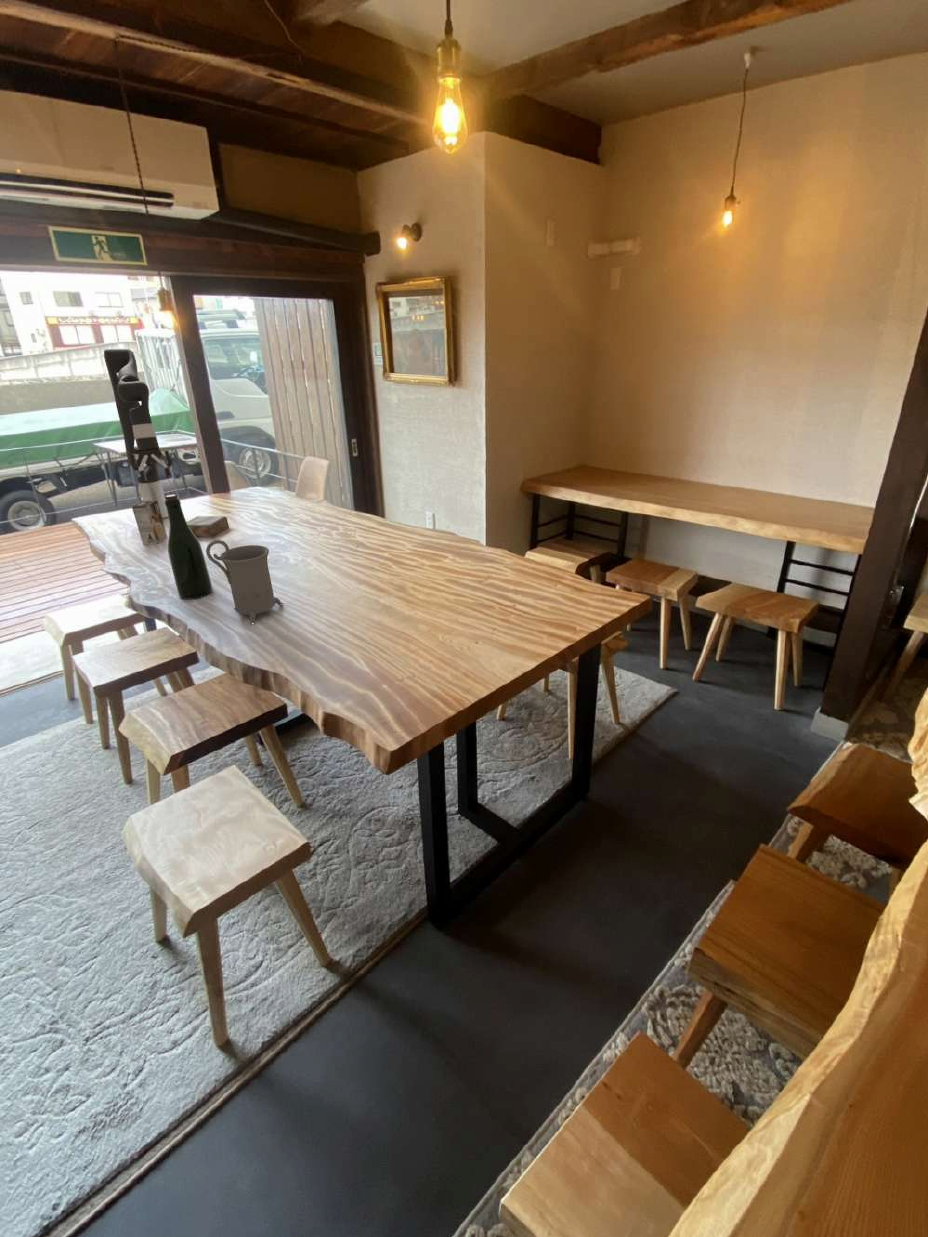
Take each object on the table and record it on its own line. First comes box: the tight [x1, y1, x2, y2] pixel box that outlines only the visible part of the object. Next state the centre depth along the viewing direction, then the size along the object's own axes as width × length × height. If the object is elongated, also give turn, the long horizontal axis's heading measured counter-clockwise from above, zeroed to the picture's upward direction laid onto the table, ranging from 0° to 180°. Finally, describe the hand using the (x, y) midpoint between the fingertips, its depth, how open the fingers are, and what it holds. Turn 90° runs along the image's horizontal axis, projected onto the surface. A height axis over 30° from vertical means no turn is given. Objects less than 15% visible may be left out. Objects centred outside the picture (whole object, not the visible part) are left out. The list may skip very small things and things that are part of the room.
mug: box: [205, 539, 284, 624], centre depth 175 cm, size 19×15×25 cm
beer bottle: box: [164, 494, 213, 599], centre depth 189 cm, size 10×10×33 cm
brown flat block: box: [186, 515, 230, 539], centre depth 256 cm, size 14×14×5 cm
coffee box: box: [131, 501, 168, 545], centre depth 246 cm, size 9×6×16 cm
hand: (156, 479), depth 235 cm, fingers open, 8 cm apart
